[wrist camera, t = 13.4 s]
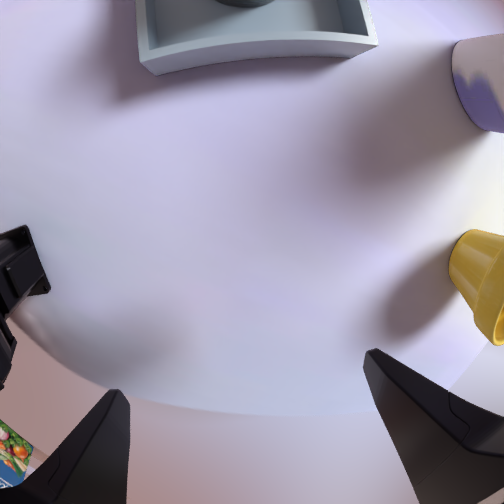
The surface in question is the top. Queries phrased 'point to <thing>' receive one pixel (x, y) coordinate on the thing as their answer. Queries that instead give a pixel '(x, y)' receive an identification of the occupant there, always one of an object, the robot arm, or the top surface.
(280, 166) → the top surface
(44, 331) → the top surface
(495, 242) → the plant pot
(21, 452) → the blue food package
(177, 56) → the bin
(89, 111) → the top surface
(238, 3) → the metallic can
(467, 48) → the container
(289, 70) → the top surface
